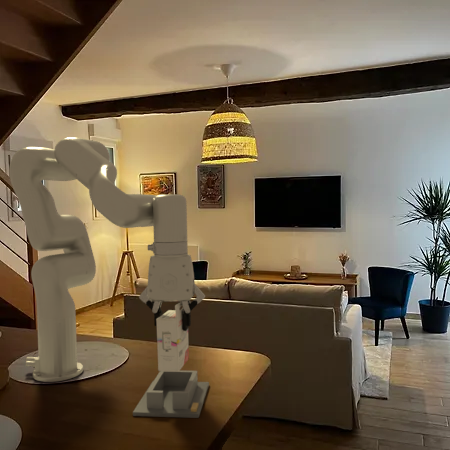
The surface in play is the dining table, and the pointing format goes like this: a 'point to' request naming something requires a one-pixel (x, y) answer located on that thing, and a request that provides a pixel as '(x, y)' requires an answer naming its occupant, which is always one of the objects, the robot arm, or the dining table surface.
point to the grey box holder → (173, 396)
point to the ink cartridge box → (172, 340)
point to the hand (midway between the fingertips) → (172, 328)
